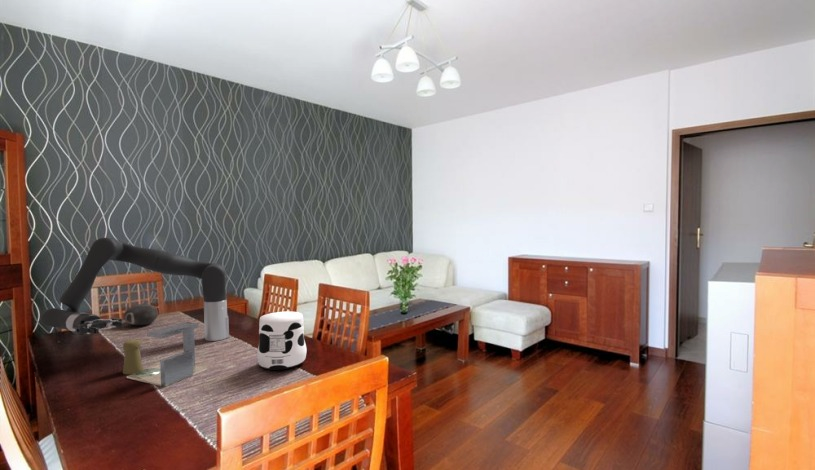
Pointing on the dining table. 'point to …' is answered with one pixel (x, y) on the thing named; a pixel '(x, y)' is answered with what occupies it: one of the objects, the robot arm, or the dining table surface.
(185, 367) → the stand
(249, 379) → the dining table surface
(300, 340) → the milk container
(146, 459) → the dining table surface
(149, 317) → the decorative stone
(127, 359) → the cork
